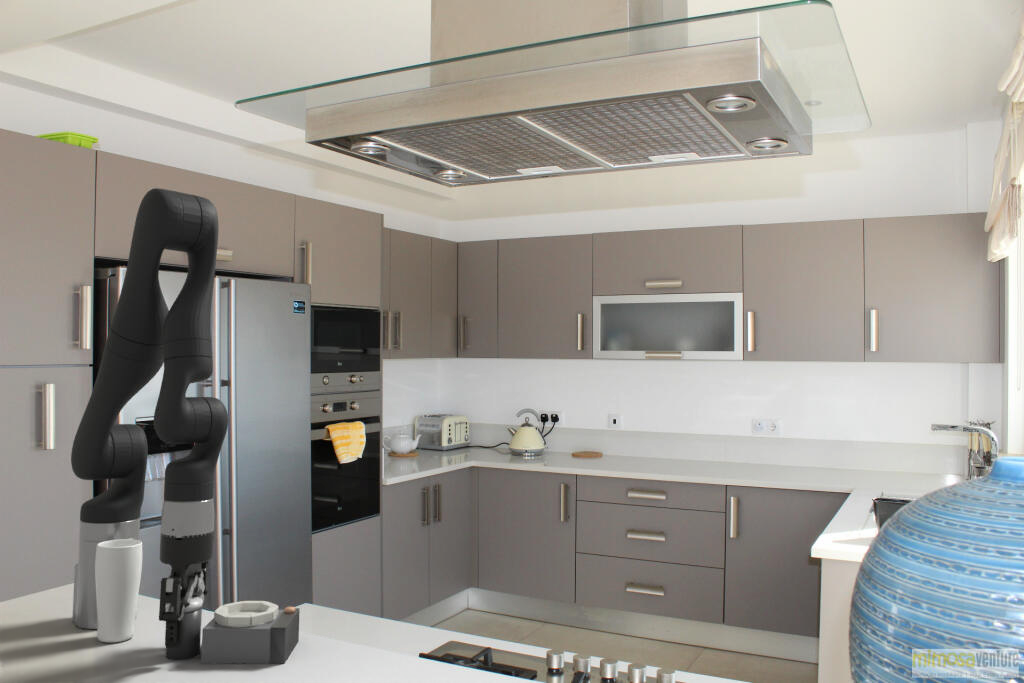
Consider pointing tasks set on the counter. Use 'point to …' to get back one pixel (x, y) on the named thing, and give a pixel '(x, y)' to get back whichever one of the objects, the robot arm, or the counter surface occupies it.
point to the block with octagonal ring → (250, 634)
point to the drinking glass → (117, 588)
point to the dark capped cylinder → (189, 633)
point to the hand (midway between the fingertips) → (183, 637)
